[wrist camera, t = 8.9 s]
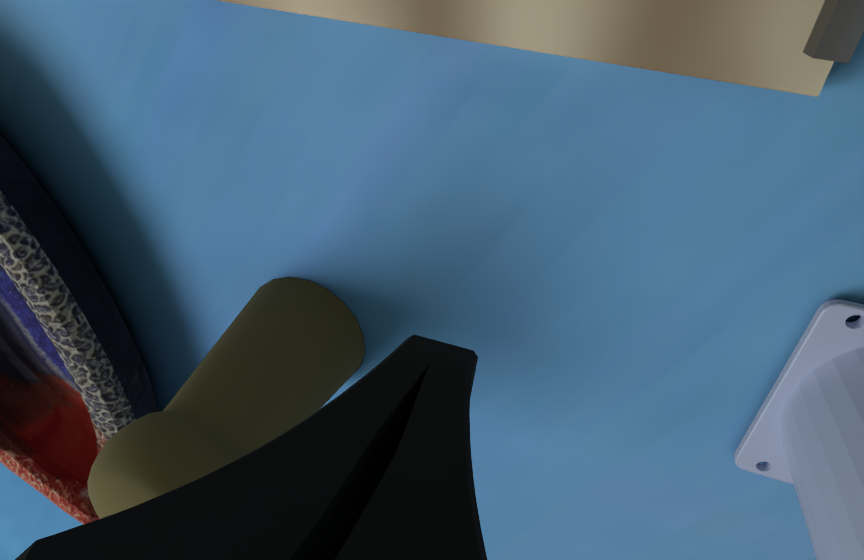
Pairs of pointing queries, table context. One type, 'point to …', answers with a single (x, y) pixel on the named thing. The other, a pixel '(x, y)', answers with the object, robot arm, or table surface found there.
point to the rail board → (636, 32)
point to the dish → (58, 349)
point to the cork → (235, 395)
